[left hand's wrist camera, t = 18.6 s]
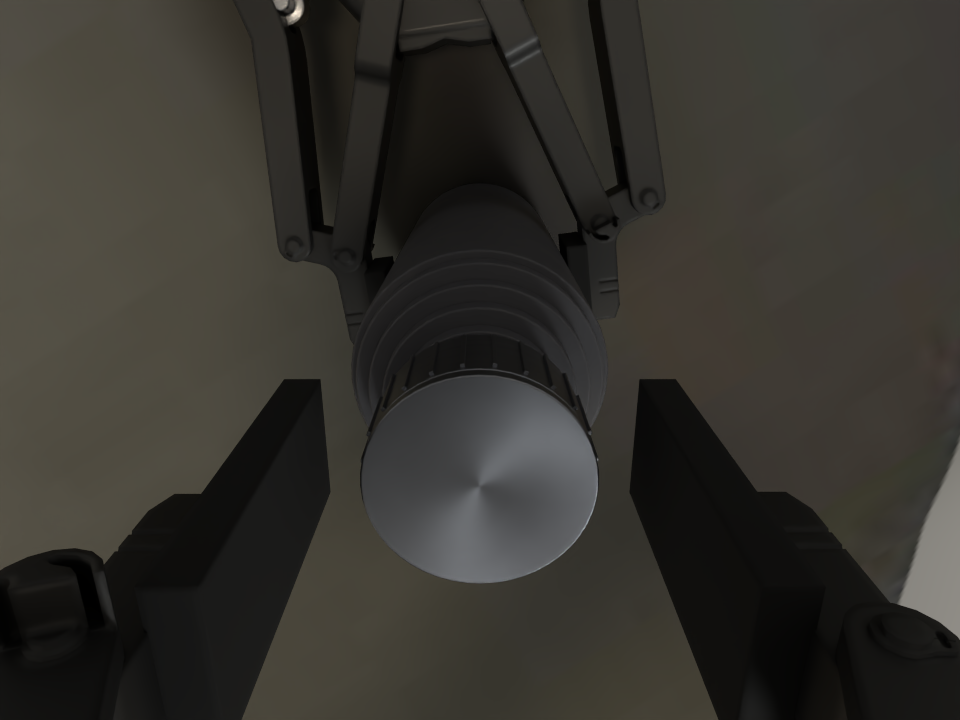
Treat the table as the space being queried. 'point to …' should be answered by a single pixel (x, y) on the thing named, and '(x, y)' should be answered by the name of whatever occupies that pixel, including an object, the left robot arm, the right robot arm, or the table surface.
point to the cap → (479, 461)
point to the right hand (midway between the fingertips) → (495, 404)
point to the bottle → (479, 295)
